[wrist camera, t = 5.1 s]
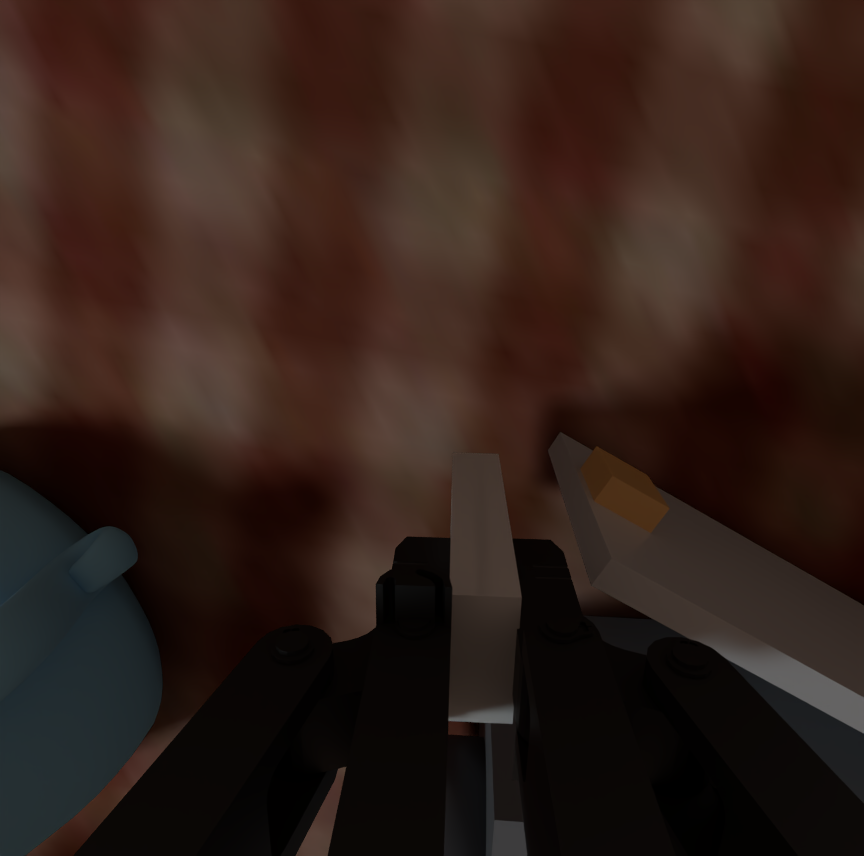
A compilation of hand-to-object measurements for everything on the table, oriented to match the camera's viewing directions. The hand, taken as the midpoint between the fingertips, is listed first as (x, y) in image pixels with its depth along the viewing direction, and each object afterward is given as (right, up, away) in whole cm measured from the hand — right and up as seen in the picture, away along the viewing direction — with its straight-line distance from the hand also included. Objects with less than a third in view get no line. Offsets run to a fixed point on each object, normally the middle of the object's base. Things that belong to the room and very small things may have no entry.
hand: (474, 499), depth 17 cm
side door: (+8, -1, +3) cm, 9 cm away
